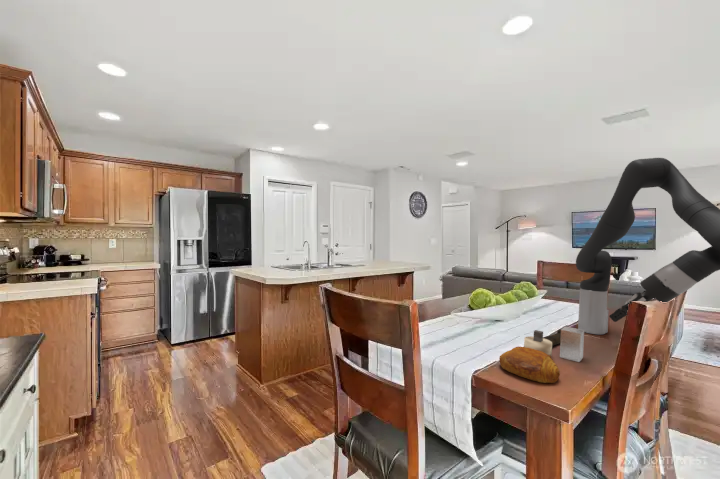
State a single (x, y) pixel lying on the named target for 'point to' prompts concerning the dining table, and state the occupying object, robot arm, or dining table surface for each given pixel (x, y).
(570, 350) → the light grey block
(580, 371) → the dining table surface
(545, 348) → the cream rounded block
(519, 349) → the croissant
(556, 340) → the hand tool
